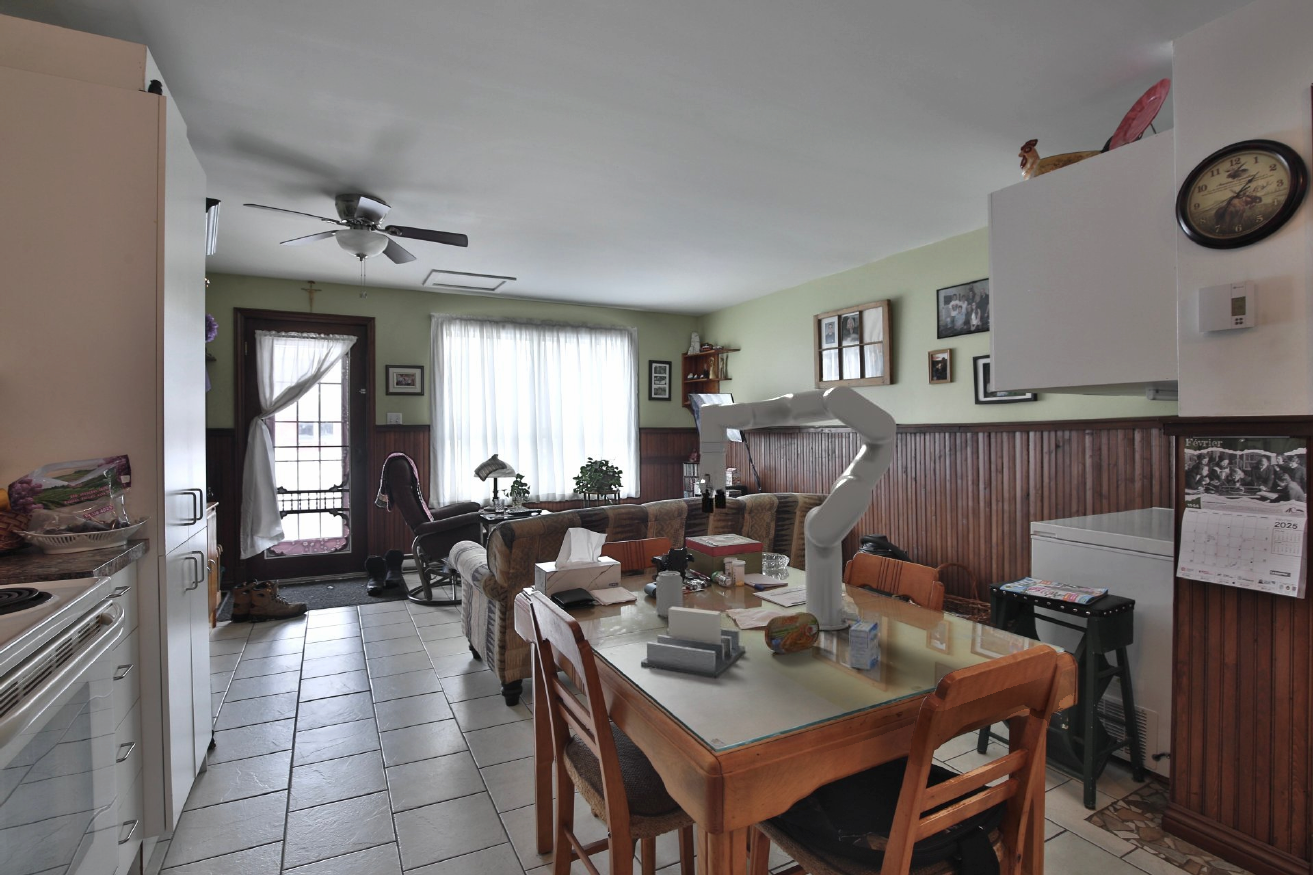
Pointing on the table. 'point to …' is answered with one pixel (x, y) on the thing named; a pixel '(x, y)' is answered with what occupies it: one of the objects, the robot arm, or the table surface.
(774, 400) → the robot arm
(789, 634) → the tin
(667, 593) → the can
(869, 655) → the medicine box
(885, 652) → the table surface
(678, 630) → the cream white block
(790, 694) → the table surface
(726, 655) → the dish rack
